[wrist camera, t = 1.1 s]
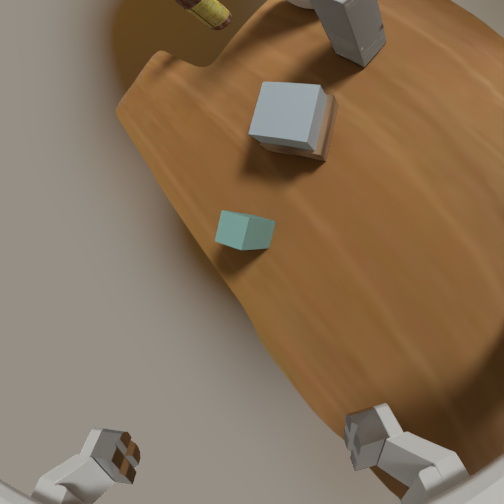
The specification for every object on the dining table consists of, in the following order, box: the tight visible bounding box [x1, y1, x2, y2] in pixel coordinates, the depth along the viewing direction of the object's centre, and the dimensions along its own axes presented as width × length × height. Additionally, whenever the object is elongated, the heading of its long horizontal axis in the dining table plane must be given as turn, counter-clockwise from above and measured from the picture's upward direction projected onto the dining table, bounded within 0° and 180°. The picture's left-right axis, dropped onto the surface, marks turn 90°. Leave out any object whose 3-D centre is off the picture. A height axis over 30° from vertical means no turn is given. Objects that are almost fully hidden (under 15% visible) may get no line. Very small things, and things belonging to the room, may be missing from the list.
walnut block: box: [260, 94, 338, 161], centre depth 41 cm, size 10×10×4 cm
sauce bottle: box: [176, 0, 232, 30], centre depth 40 cm, size 6×6×20 cm
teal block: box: [215, 210, 276, 250], centre depth 43 cm, size 4×4×9 cm
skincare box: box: [309, 0, 386, 67], centre depth 29 cm, size 8×7×16 cm
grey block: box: [249, 82, 327, 151], centre depth 37 cm, size 9×9×4 cm
